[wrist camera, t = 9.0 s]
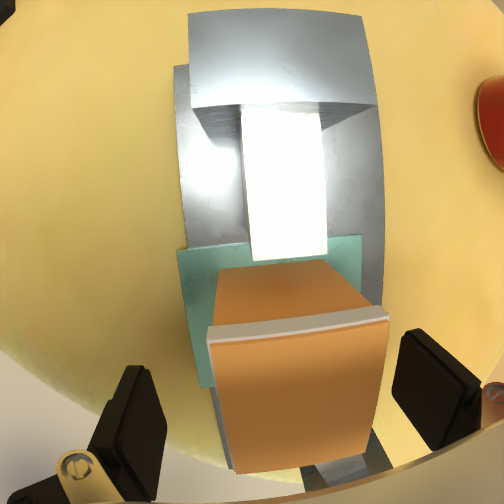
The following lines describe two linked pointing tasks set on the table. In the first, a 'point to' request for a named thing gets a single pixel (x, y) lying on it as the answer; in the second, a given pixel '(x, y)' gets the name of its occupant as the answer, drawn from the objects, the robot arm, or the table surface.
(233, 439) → the block
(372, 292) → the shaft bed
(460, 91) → the table surface
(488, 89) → the soda can
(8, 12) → the mechanical leg
